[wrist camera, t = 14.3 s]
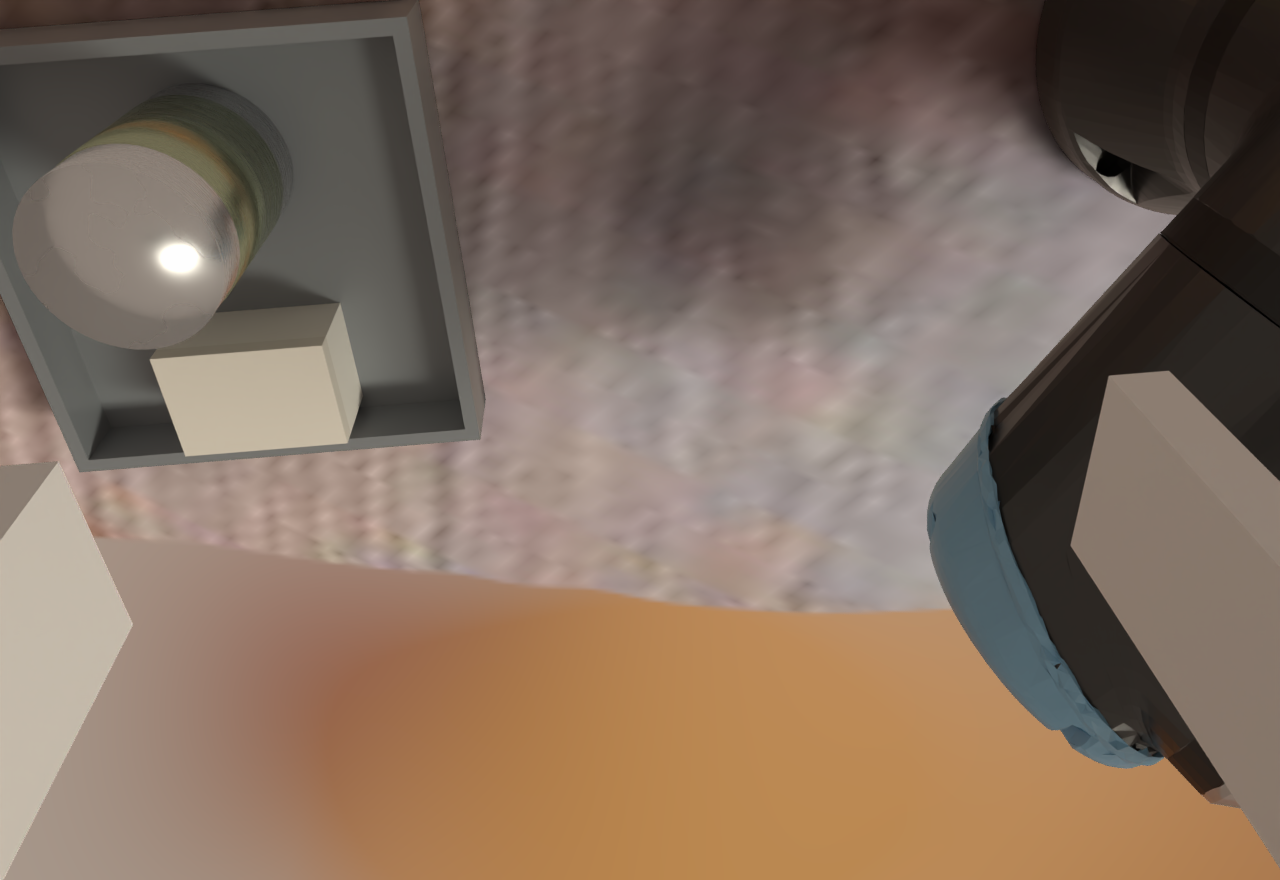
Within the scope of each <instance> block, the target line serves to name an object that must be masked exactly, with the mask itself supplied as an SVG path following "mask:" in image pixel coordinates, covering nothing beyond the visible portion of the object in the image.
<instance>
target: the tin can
mask: <svg viewBox="0 0 1280 880" xmlns="http://www.w3.org/2000/svg"><path fill="white" fill-rule="evenodd" d="M293 181H294V178H293V165H292V159H291V156H290V153H289V149H288V147H287V145H286V142H285V140H284V138H283V137H282V135H281V133H280V131H279V130H278V128H277V127H276V126H275V124H274V123H273V122H272V121H271V119H270V118H269V117H268V116H267V115H266V114H265V113H264V112H263V111H262V110H261V109H259V108H258V107H257V106H256V105H255V104H253V103H252V102H250V101H249V100H248V99H246V98H245V97H243V96H241V95H239V94H237V93H235V92H233V91H230V90H228V89H225V88H223V87H219V86H215V85H211V84H204V83H186V84H179V85H175V86H171V87H168V88H166V89H164V90H161V91H159V92H158V93H156V94H155V95H153V96H152V97H150V98H149V99H148V100H146V101H145V102H143V103H141V104H139V105H137V106H136V107H134V108H133V109H131V110H130V111H129V112H127V113H126V114H125V115H123V116H122V117H120V118H119V119H118V120H116V121H115V122H114V123H112V124H111V125H109V126H108V127H107V128H105V129H104V130H103V131H101V132H100V133H98V134H97V135H96V136H94V137H93V138H92V139H90V140H89V141H88V142H86V143H85V144H83V145H82V146H81V147H79V148H78V149H77V150H75V151H74V152H72V153H71V154H70V155H68V156H67V157H66V158H64V159H63V160H62V161H61V162H60V163H59V164H58V165H57V166H56V167H55V168H54V169H52V170H51V171H49V172H48V173H47V174H45V175H44V176H43V177H41V178H40V179H39V180H37V181H36V182H35V183H34V184H33V185H32V186H31V187H30V188H29V189H28V191H27V192H26V193H25V194H24V196H23V197H22V199H21V201H20V203H19V205H18V207H17V210H16V213H15V216H14V221H13V229H12V236H13V247H14V253H15V257H16V260H17V263H18V266H19V268H20V270H21V273H22V275H23V277H24V279H25V281H26V282H27V284H28V285H29V287H30V289H31V290H32V292H33V293H34V294H35V295H36V297H37V298H38V299H39V301H40V302H41V303H42V304H43V305H44V306H45V307H46V308H47V309H48V310H49V311H50V312H51V313H52V314H54V315H55V316H56V317H57V318H58V319H59V320H61V321H62V322H64V323H65V324H66V325H68V326H69V327H71V328H72V329H74V330H76V331H78V332H79V333H81V334H83V335H85V336H87V337H89V338H92V339H94V340H96V341H99V342H102V343H105V344H108V345H112V346H116V347H121V348H127V349H136V350H149V349H158V348H164V347H168V346H172V345H175V344H177V343H180V342H182V341H185V340H186V339H188V338H190V337H192V336H193V335H195V334H196V333H197V332H198V331H200V330H201V329H202V328H203V327H204V326H205V325H206V324H207V323H208V322H209V320H210V319H211V317H212V316H213V315H214V313H215V312H216V310H217V309H218V307H219V306H220V304H221V303H222V302H223V301H224V300H225V299H226V298H227V297H228V295H229V294H230V292H231V291H232V289H233V288H234V286H235V285H236V283H237V282H238V280H239V279H240V277H241V276H242V275H243V273H244V272H245V270H246V269H247V267H248V266H249V264H250V263H251V261H252V260H253V258H254V257H255V255H256V254H257V252H258V251H259V249H260V248H261V246H262V245H263V244H264V242H265V241H266V239H267V238H268V236H269V235H270V233H271V232H272V230H273V229H274V227H275V225H276V223H277V221H278V219H279V218H280V216H281V215H282V213H283V212H284V210H285V208H286V207H287V204H288V202H289V200H290V197H291V193H292V189H293Z"/></svg>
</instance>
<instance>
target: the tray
mask: <svg viewBox="0 0 1280 880" xmlns="http://www.w3.org/2000/svg"><path fill="white" fill-rule="evenodd" d="M186 83H204V84H211V85H215V86H219V87H223V88H225V89H228V90H230V91H233V92H235V93H237V94H239V95H241V96H243V97H245V98H246V99H248V100H249V101H250V102H252V103H253V104H255V105H256V106H257V107H258V108H259V109H261V110H262V111H263V112H264V113H265V114H266V115H267V116H268V117H269V118H270V119H271V121H272V122H273V123H274V124H275V126H276V127H277V128H278V130H279V131H280V133H281V135H282V137H283V138H284V140H285V142H286V145H287V147H288V149H289V153H290V156H291V159H292V165H293V178H294V181H293V189H292V193H291V197H290V200H289V202H288V204H287V207H286V208H285V210H284V212H283V213H282V215H281V216H280V218H279V219H278V221H277V223H276V225H275V227H274V229H273V230H272V232H271V233H270V235H269V236H268V238H267V239H266V241H265V242H264V244H263V245H262V246H261V248H260V249H259V251H258V252H257V254H256V255H255V257H254V258H253V260H252V261H251V263H250V264H249V266H248V267H247V269H246V270H245V272H244V273H243V275H242V276H241V277H240V279H239V280H238V282H237V283H236V285H235V286H234V288H233V289H232V291H231V292H230V294H229V295H228V297H227V298H226V299H225V300H224V301H223V302H222V303H221V304H220V306H219V307H218V309H217V310H216V312H215V313H217V312H230V311H242V310H255V309H268V308H280V307H293V306H306V305H318V304H331V303H340V304H341V308H342V312H343V316H344V320H345V324H346V329H347V333H348V337H349V341H350V345H351V349H352V353H353V357H354V361H355V365H356V370H357V374H358V378H359V382H360V386H361V390H362V394H363V397H362V400H361V404H360V407H359V410H358V413H357V416H356V419H355V422H354V425H353V428H352V431H351V434H350V437H349V440H348V443H345V444H333V445H320V446H308V447H296V448H284V449H271V450H259V451H247V452H235V453H222V454H210V455H198V456H186V457H185V454H184V451H183V448H182V446H181V443H180V440H179V438H178V435H177V432H176V430H175V427H174V424H173V421H172V419H171V416H170V413H169V411H168V408H167V405H166V403H165V400H164V397H163V395H162V392H161V389H160V386H159V384H158V381H157V378H156V376H155V373H154V370H153V368H152V365H151V362H150V358H151V356H152V355H153V354H154V352H155V351H156V349H149V350H136V349H127V348H121V347H116V346H112V345H108V344H105V343H102V342H99V341H96V340H94V339H92V338H89V337H87V336H85V335H83V334H81V333H79V332H78V331H76V330H74V329H72V328H71V327H69V326H68V325H66V324H65V323H64V322H62V321H61V320H59V319H58V318H57V317H56V316H55V315H54V314H52V313H51V312H50V311H49V310H48V309H47V308H46V307H45V306H44V305H43V304H42V303H41V302H40V301H39V299H38V298H37V297H36V295H35V294H34V293H33V292H32V290H31V289H30V287H29V285H28V284H27V282H26V281H25V279H24V277H23V275H22V273H21V270H20V268H19V266H18V263H17V260H16V257H15V253H14V247H13V236H12V229H13V221H14V216H15V213H16V210H17V207H18V205H19V203H20V201H21V199H22V197H23V196H24V194H25V193H26V192H27V191H28V189H29V188H30V187H31V186H32V185H33V184H34V183H35V182H36V181H37V180H39V179H40V178H41V177H43V176H44V175H45V174H47V173H48V172H49V171H51V170H52V169H54V168H55V167H56V166H57V165H58V164H59V163H60V162H61V161H62V160H63V159H64V158H66V157H67V156H68V155H70V154H71V153H72V152H74V151H75V150H77V149H78V148H79V147H81V146H82V145H83V144H85V143H86V142H88V141H89V140H90V139H92V138H93V137H94V136H96V135H97V134H98V133H100V132H101V131H103V130H104V129H105V128H107V127H108V126H109V125H111V124H112V123H114V122H115V121H116V120H118V119H119V118H120V117H122V116H123V115H125V114H126V113H127V112H129V111H130V110H131V109H133V108H134V107H136V106H137V105H139V104H141V103H143V102H145V101H146V100H148V99H149V98H150V97H152V96H153V95H155V94H156V93H158V92H159V91H161V90H164V89H166V88H168V87H171V86H175V85H179V84H186ZM0 294H1V297H2V299H3V301H4V303H5V306H6V308H7V310H8V312H9V315H10V317H11V319H12V321H13V324H14V326H15V328H16V330H17V333H18V335H19V337H20V339H21V342H22V344H23V346H24V348H25V351H26V353H27V355H28V357H29V360H30V362H31V364H32V366H33V369H34V371H35V373H36V375H37V378H38V380H39V382H40V384H41V387H42V389H43V391H44V393H45V396H46V398H47V400H48V402H49V405H50V407H51V409H52V411H53V414H54V416H55V418H56V420H57V423H58V425H59V427H60V429H61V432H62V434H63V436H64V438H65V441H66V443H67V445H68V447H69V450H70V452H71V454H72V456H73V459H74V461H75V463H76V465H77V467H78V470H79V472H89V471H101V470H114V469H126V468H138V467H150V466H162V465H175V464H187V463H199V462H211V461H224V460H236V459H248V458H260V457H272V456H285V455H297V454H309V453H321V452H334V451H346V450H358V449H370V448H383V447H395V446H407V445H419V444H431V443H444V442H456V441H468V440H480V438H481V431H482V423H483V415H484V408H485V400H486V399H485V393H484V387H483V381H482V375H481V369H480V363H479V357H478V351H477V345H476V339H475V333H474V327H473V321H472V315H471V309H470V303H469V297H468V291H467V285H466V279H465V273H464V267H463V261H462V255H461V249H460V243H459V237H458V231H457V225H456V219H455V213H454V207H453V201H452V195H451V189H450V183H449V177H448V171H447V165H446V159H445V153H444V147H443V141H442V135H441V129H440V123H439V117H438V111H437V105H436V99H435V93H434V87H433V81H432V75H431V69H430V63H429V57H428V51H427V45H426V39H425V33H424V27H423V21H422V15H421V9H420V3H419V0H389V1H375V2H362V3H348V4H335V5H321V6H308V7H294V8H281V9H267V10H254V11H240V12H227V13H213V14H200V15H186V16H173V17H159V18H146V19H132V20H119V21H106V22H92V23H79V24H65V25H52V26H38V27H25V28H11V29H0Z"/></svg>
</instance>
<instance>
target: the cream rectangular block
mask: <svg viewBox="0 0 1280 880" xmlns="http://www.w3.org/2000/svg"><path fill="white" fill-rule="evenodd" d="M150 362H151V365H152V368H153V370H154V373H155V376H156V378H157V381H158V384H159V386H160V389H161V392H162V395H163V397H164V400H165V403H166V405H167V408H168V411H169V413H170V416H171V419H172V421H173V424H174V427H175V430H176V432H177V435H178V438H179V440H180V443H181V446H182V448H183V451H184V454H185V457H186V456H198V455H210V454H222V453H235V452H247V451H259V450H271V449H284V448H296V447H308V446H320V445H333V444H345V443H348V440H349V437H350V434H351V431H352V428H353V425H354V422H355V419H356V416H357V413H358V410H359V407H360V404H361V400H362V397H363V394H362V390H361V386H360V382H359V378H358V374H357V370H356V365H355V361H354V357H353V353H352V349H351V345H350V341H349V337H348V333H347V329H346V324H345V320H344V316H343V312H342V308H341V304H340V303H331V304H318V305H306V306H293V307H280V308H268V309H255V310H242V311H230V312H217V313H214V315H213V316H212V317H211V319H210V320H209V322H208V323H207V324H206V325H205V326H204V327H203V328H202V329H201V330H200V331H198V332H197V333H196V334H195V335H193V336H192V337H190V338H188V339H186V340H185V341H182V342H180V343H177V344H175V345H172V346H168V347H164V348H158V349H156V351H155V352H154V354H153V355H152V356H151V358H150Z"/></svg>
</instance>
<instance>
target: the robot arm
mask: <svg viewBox="0 0 1280 880" xmlns="http://www.w3.org/2000/svg"><path fill="white" fill-rule="evenodd" d="M1036 77H1037V87H1038V93H1039V98H1040V103H1041V106H1042V110H1043V113H1044V116H1045V119H1046V121H1047V124H1048V126H1049V128H1050V131H1051V133H1052V135H1053V137H1054V138H1055V140H1056V142H1057V143H1058V145H1059V146H1060V148H1061V149H1062V150H1063V152H1064V153H1065V154H1066V156H1067V157H1068V158H1069V159H1070V160H1071V161H1072V162H1073V163H1074V164H1075V165H1076V166H1077V167H1078V168H1079V169H1080V170H1081V171H1083V172H1084V173H1085V174H1086V175H1088V176H1089V177H1090V178H1092V179H1093V180H1094V181H1096V182H1097V183H1098V184H1099V185H1101V186H1102V187H1103V188H1105V189H1106V190H1107V191H1109V192H1110V193H1112V194H1114V195H1115V196H1117V197H1119V198H1121V199H1123V200H1125V201H1127V202H1129V203H1132V204H1134V205H1137V206H1139V207H1142V208H1145V209H1148V210H1152V211H1155V212H1160V213H1165V214H1172V215H1177V216H1176V217H1175V218H1174V219H1173V220H1172V221H1171V222H1170V223H1169V225H1168V226H1167V227H1166V228H1165V229H1164V230H1163V231H1162V232H1161V234H1158V235H1157V236H1156V237H1155V238H1154V239H1153V240H1152V242H1151V243H1150V244H1149V245H1148V246H1147V247H1146V248H1145V249H1144V250H1143V251H1142V252H1141V254H1140V255H1139V256H1138V257H1137V258H1136V259H1135V260H1134V261H1133V262H1132V263H1131V264H1130V265H1129V267H1128V268H1127V269H1126V270H1125V271H1124V272H1123V273H1122V274H1121V275H1120V276H1119V277H1118V279H1117V280H1116V281H1115V282H1114V283H1113V284H1112V285H1111V286H1110V287H1109V288H1108V289H1107V291H1106V292H1105V293H1104V294H1103V295H1102V296H1101V297H1100V298H1099V299H1098V300H1097V301H1096V302H1095V304H1094V305H1093V306H1092V307H1091V308H1090V309H1089V310H1088V311H1087V312H1086V313H1085V314H1084V316H1083V317H1082V318H1081V319H1080V320H1079V321H1078V322H1077V323H1076V324H1075V325H1074V326H1073V328H1072V329H1071V330H1070V331H1069V332H1068V333H1067V334H1066V335H1065V336H1064V337H1063V338H1062V339H1061V341H1060V342H1059V343H1058V344H1057V345H1056V346H1055V347H1054V348H1053V349H1052V350H1051V351H1050V353H1049V354H1048V355H1047V356H1046V357H1045V358H1044V359H1043V360H1042V361H1041V362H1040V363H1039V365H1038V366H1037V367H1036V368H1035V369H1034V370H1033V371H1032V372H1031V373H1030V374H1029V375H1028V377H1027V378H1026V379H1025V380H1024V381H1023V382H1022V383H1021V384H1020V385H1019V386H1018V387H1017V388H1016V389H1015V391H1014V392H1013V393H1012V394H1011V395H1010V396H1009V397H1008V398H1002V399H1000V400H999V401H998V402H996V403H995V404H994V405H993V406H992V407H991V408H990V410H989V411H988V412H987V413H986V415H985V417H984V419H983V421H982V424H981V427H980V429H979V430H978V432H977V433H976V434H975V435H974V436H973V438H972V439H971V440H970V441H969V443H968V444H967V445H966V446H965V448H964V449H963V450H962V451H961V452H960V454H959V455H958V456H957V457H956V459H955V460H954V461H953V462H952V464H951V465H950V466H949V467H948V469H947V470H946V471H945V472H944V473H943V474H942V476H941V477H940V478H939V480H938V482H937V483H936V485H935V487H934V489H933V492H932V494H931V497H930V500H929V505H928V510H927V531H928V536H929V539H930V553H931V557H932V561H933V565H934V568H935V571H936V574H937V576H938V579H939V581H940V584H941V586H942V589H943V591H944V593H945V595H946V597H947V600H948V602H949V604H950V606H951V608H952V610H953V611H954V613H955V615H956V617H957V619H958V620H959V622H960V624H961V625H962V627H963V628H964V630H965V632H966V633H967V635H968V637H969V638H970V640H971V641H972V643H973V644H974V646H975V647H976V649H977V650H978V651H979V653H980V654H981V656H982V657H983V658H984V660H985V661H986V663H987V664H988V665H989V667H990V668H991V669H992V670H993V672H994V673H995V674H996V676H997V677H998V678H999V679H1000V681H1001V682H1002V683H1003V684H1004V685H1005V687H1006V688H1007V689H1008V690H1009V691H1010V692H1011V693H1012V695H1013V696H1014V697H1015V698H1016V699H1017V700H1018V701H1019V702H1020V703H1021V704H1022V705H1023V706H1024V707H1025V708H1026V709H1027V710H1028V711H1029V712H1030V713H1031V714H1032V715H1033V716H1034V717H1035V718H1036V719H1037V720H1038V721H1040V722H1041V723H1042V724H1043V725H1044V726H1045V727H1046V728H1048V729H1050V730H1061V732H1062V733H1063V735H1064V736H1065V738H1066V739H1067V741H1068V742H1069V744H1070V745H1071V747H1072V748H1073V749H1075V750H1076V751H1078V752H1080V753H1081V754H1083V755H1085V756H1086V757H1088V758H1091V759H1092V760H1094V761H1096V762H1098V763H1101V764H1104V765H1107V766H1112V767H1117V768H1133V767H1137V766H1140V765H1146V766H1148V765H1153V764H1156V763H1157V762H1159V761H1160V760H1162V759H1163V758H1164V757H1165V758H1166V759H1168V760H1169V761H1170V762H1171V764H1173V766H1175V768H1176V769H1178V771H1179V772H1180V773H1181V774H1182V775H1183V776H1184V777H1185V778H1186V779H1187V780H1188V781H1189V783H1191V785H1192V786H1193V787H1194V788H1195V789H1196V790H1197V791H1198V792H1199V793H1200V794H1201V795H1202V796H1203V797H1205V799H1206V800H1207V801H1209V802H1210V803H1211V804H1218V805H1224V806H1230V807H1236V808H1241V809H1242V811H1243V812H1244V814H1245V815H1246V817H1247V818H1248V820H1249V821H1250V823H1251V824H1252V826H1253V827H1254V829H1255V831H1256V832H1257V834H1258V835H1259V837H1260V838H1261V840H1262V841H1263V843H1264V845H1265V846H1266V848H1267V849H1268V851H1269V852H1270V854H1271V855H1272V857H1273V858H1274V860H1275V861H1276V863H1277V865H1278V866H1279V868H1280V0H1046V1H1045V4H1044V8H1043V12H1042V16H1041V20H1040V26H1039V31H1038V39H1037V48H1036ZM132 626H133V624H132V621H131V619H130V617H129V615H128V613H127V610H126V608H125V606H124V604H123V602H122V599H121V597H120V595H119V593H118V591H117V588H116V586H115V584H114V582H113V580H112V577H111V575H110V573H109V571H108V569H107V566H106V564H105V562H104V560H103V558H102V555H101V553H100V551H99V549H98V547H97V545H96V543H95V540H94V538H93V536H92V534H91V531H90V529H89V527H88V525H87V523H86V520H85V518H84V516H83V514H82V512H81V509H80V507H79V505H78V503H77V501H76V498H75V496H74V494H73V492H72V490H71V487H70V485H69V483H68V481H67V479H66V476H65V474H64V472H63V470H62V468H61V466H60V463H59V461H56V462H44V463H32V464H20V465H7V466H0V880H4V878H5V876H6V874H7V872H8V870H9V867H10V866H11V864H12V862H13V859H14V858H15V856H16V854H17V852H18V850H19V848H20V846H21V844H22V842H23V840H24V838H25V836H26V834H27V832H28V830H29V828H30V826H31V824H32V822H33V821H34V819H35V817H36V815H37V813H38V811H39V808H40V807H41V805H42V803H43V801H44V799H45V797H46V795H47V793H48V791H49V789H50V787H51V785H52V783H53V781H54V779H55V777H56V775H57V773H58V771H59V769H60V767H61V765H62V763H63V761H64V760H65V757H66V755H67V754H68V751H69V750H70V748H71V745H72V744H73V742H74V740H75V738H76V736H77V734H78V732H79V730H80V728H81V726H82V724H83V722H84V720H85V718H86V716H87V714H88V712H89V710H90V708H91V706H92V704H93V702H94V700H95V698H96V697H97V695H98V693H99V691H100V689H101V686H102V685H103V683H104V681H105V679H106V677H107V675H108V673H109V671H110V669H111V667H112V665H113V663H114V661H115V659H116V657H117V655H118V653H119V651H120V649H121V647H122V645H123V643H124V641H125V639H126V637H127V635H128V634H129V631H130V630H131V627H132Z"/></svg>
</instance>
